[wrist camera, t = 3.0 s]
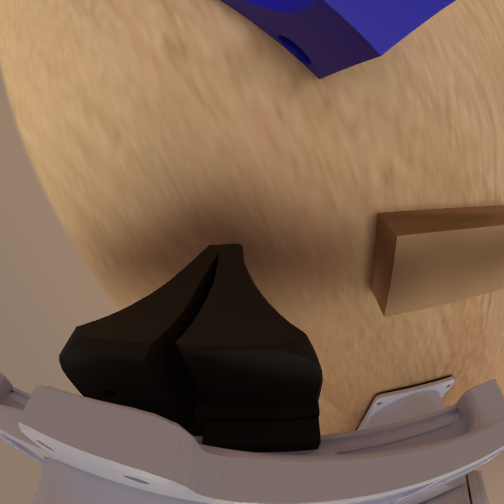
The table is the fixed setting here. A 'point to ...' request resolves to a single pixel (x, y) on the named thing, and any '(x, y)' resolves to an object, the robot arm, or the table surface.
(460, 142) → the table surface
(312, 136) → the table surface
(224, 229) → the table surface
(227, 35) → the table surface
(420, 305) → the slat
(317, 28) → the cable clip
